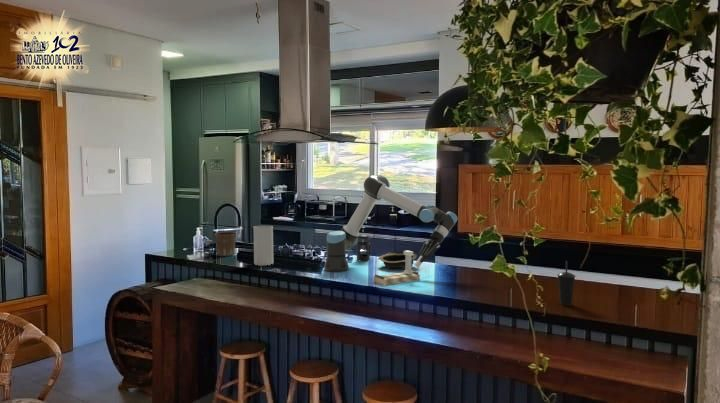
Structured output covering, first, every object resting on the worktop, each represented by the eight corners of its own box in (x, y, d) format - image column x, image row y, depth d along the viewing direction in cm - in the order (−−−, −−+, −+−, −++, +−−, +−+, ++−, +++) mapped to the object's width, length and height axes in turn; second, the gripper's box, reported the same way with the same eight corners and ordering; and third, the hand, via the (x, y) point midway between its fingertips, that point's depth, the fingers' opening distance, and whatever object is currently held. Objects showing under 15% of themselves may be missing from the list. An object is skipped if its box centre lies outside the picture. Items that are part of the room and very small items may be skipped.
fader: (407, 272, 289) (407, 250, 288) (413, 273, 285) (413, 251, 284) (403, 273, 287) (403, 250, 287) (408, 274, 283) (408, 252, 282)
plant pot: (238, 256, 367) (237, 234, 366) (215, 257, 362) (214, 235, 361) (236, 252, 383) (236, 231, 382) (214, 254, 378) (213, 232, 377)
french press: (363, 261, 342) (363, 227, 340) (352, 260, 348) (352, 226, 346) (374, 259, 351) (374, 226, 349) (364, 258, 357) (363, 225, 355)
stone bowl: (417, 263, 333) (417, 249, 332) (416, 274, 309) (416, 259, 307) (380, 262, 336) (380, 248, 335) (376, 272, 312) (376, 258, 311)
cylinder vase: (251, 265, 330) (250, 227, 328) (257, 262, 342) (257, 225, 341) (270, 266, 328) (269, 227, 327) (275, 262, 341) (275, 225, 339)
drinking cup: (553, 302, 234) (554, 259, 233) (569, 302, 235) (570, 259, 233) (561, 307, 226) (562, 262, 225) (578, 306, 227) (579, 262, 226)
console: (408, 276, 293) (408, 269, 292) (419, 280, 284) (419, 272, 284) (373, 281, 280) (373, 274, 280) (383, 285, 272) (383, 277, 271)
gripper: (450, 240, 292) (427, 272, 285) (435, 237, 303) (413, 268, 296) (443, 231, 289) (419, 263, 282) (428, 229, 300) (405, 260, 293)
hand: (416, 265), depth 289 cm, fingers closed
